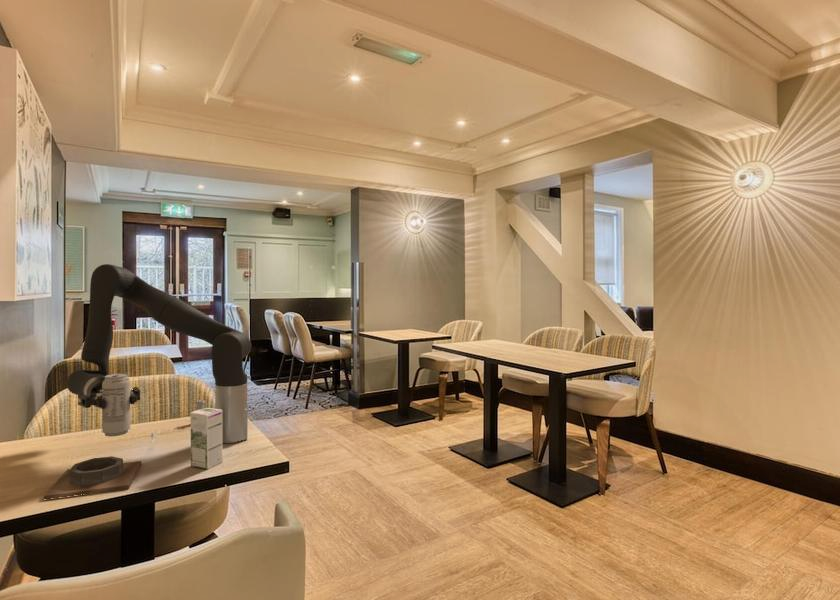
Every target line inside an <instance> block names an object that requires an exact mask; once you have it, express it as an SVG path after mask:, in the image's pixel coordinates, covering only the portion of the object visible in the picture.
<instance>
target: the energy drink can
mask: <svg viewBox="0 0 840 600" xmlns="http://www.w3.org/2000/svg"><path fill="white" fill-rule="evenodd" d="M130 391H131V380H130V378H129V376H128V373H111V374H110V375H107V376H105V379H104V381H103V383H102V398H103V399H104V400H105V409H101V411H102V412H101V414H102V415H101V421H102V422H101V423H102V424H101V425H102V427H101V428H102V429H101V430H102V431H101V432H102V433H103V434H104V436H105V437H119V436H123V435H126V434H127V433H129V430H131V404H130Z"/></svg>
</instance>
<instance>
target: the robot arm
mask: <svg viewBox="0 0 840 600" xmlns="http://www.w3.org/2000/svg"><path fill="white" fill-rule="evenodd" d="M91 273H92V274H91V277H90V284H89V285H90V286H89V287H90V288H89V306H88V322H87V328H86V332H85V333H86V334H85V338H84V341H83V347H82V350H81V355H80V358H81V360H82V361H83V362H86V363H89V364H93V365H96V366H97V370H94V369H93V370H92V369H76V370H73V371H72V372H71V373H70V374H69V375H68V377H67V380H66V386H67V389H68V391H69V392H70V394H71V393H72V394H73V395H77V405H79V406H81V407H83V408H85V409H88V408H91V407H92V406H93V407H94V408H99V409H100V410H102V409H105V400H104V399H103V398H102V383H103V381H104V379H105V376H107V375H111V374H110V365H109V363H110V354H111V350H112V345H113V340H114V328H113V327H114V326H113V320H112V307H113V306H112V305H113V303H114V302H113V301H114V298H115V297H119V298H121V299H123V300H126V301H129V302H130V303H133V304H135V305H136V306H138V307H140V308H141V309H143V311H145V312H146V313H147V315H148V316H149V317H150V318H151V319H152V320H154V321H156V323H159V324H160V325H162V326H164V327H165V328H167V329H170V330H172V331H173V332H175V333H179V334H182V335H185V336H188V337H190V338H195V339H199V340H201V341H203V342H205V343H208V344H209V345H212V346H211V368H212V370H211V371H212V376H213V378H214V382H215V383H214V386H215V387H214V391H215V392H214V409H221V410H222V444H233V443H234V444H235V443H239V442H242V441H246V440H245V439H247V440H248V427H249V426H248V421H249V419H248V417H249V416H248V374H247V373H246V372H245V371H244V367H243V366H244V363H243V362H244V361H243V359H244V358H245V357H247V356H248V355H249V354H250V353H251V351H252V342H251V340H250V338H249V337H248V335H247V334H245V333H244V332H242V331H240V330H238V329H235V328H232V327H230V326H228V325H225V323H224V324H223V323H221V322H219V321H217V320H215V319H213V318H212V317H211V316H209V315H207V314H206V313H204V312H202V311H201V310H198V309H197V308H196V307H194V306H192V305H190V304H188V303H187V302H185V301H184V300H182V299H180V298H178V297H177V296H174V295H172V294H170V293H168V292H166V291H165V290H164V291H163V290H161V289H158V288H157V287H155V286H152V285H151V284H150V283H148V282H146V281H145V280H143V279H142V278H141V277H139V276H138V275H137V274H135V273H134V272H132V271H131V270H129V269H128V268H125V267H121V266H118V265H114V264H107V263H105V264H101V265H98V266H96V268H95V269H94V270H93V271H92V272H91ZM140 400H141V390H140V388H139V387H138V386H134V387H132V388H130V405H135V404H136V403H137V402H138V401H140ZM241 440H242V441H241ZM238 441H239V442H238Z"/></svg>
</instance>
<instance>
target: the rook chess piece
mask: <svg viewBox="0 0 840 600" xmlns="http://www.w3.org/2000/svg"><path fill="white" fill-rule="evenodd" d="M194 404H195V406H196V407H195V409H196V410H199V409H202V408H206V407H205V404H206V401H205V399H203V398H201V399H197V400H195V402H194ZM196 410H195V411H196Z"/></svg>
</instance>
